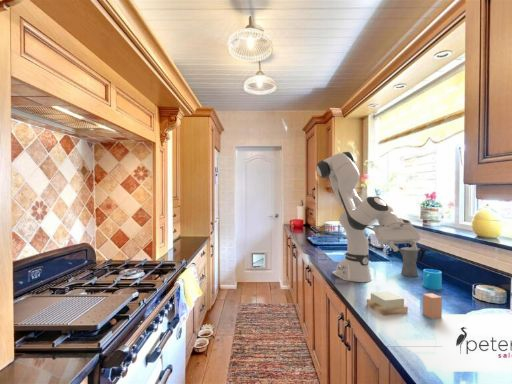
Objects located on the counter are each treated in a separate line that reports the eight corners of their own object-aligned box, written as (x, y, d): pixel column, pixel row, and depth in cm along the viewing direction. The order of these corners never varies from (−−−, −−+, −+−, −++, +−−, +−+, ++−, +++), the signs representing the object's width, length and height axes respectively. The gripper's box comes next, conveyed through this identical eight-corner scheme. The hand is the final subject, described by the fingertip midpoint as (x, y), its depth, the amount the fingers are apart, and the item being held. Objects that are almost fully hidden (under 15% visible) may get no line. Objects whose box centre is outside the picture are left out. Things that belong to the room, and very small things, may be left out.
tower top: (370, 299, 126) (370, 292, 126) (388, 298, 128) (388, 291, 128) (384, 308, 117) (385, 300, 117) (403, 306, 120) (404, 298, 120)
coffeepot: (402, 276, 170) (402, 245, 170) (394, 272, 179) (394, 242, 179) (429, 276, 170) (429, 245, 170) (420, 272, 179) (420, 242, 179)
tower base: (366, 306, 127) (366, 299, 127) (388, 304, 129) (388, 297, 129) (383, 317, 116) (383, 309, 116) (407, 314, 119) (407, 307, 119)
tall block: (422, 314, 118) (422, 294, 118) (431, 313, 119) (432, 293, 119) (431, 318, 113) (432, 298, 113) (441, 317, 114) (441, 297, 114)
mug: (426, 283, 158) (426, 268, 158) (444, 287, 151) (444, 271, 151) (417, 288, 150) (417, 271, 150) (435, 292, 144) (435, 275, 144)
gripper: (374, 221, 134) (388, 247, 124) (413, 220, 138) (429, 245, 129) (368, 230, 138) (382, 255, 129) (406, 229, 143) (421, 253, 133)
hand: (406, 250), depth 129 cm, fingers open, 8 cm apart
